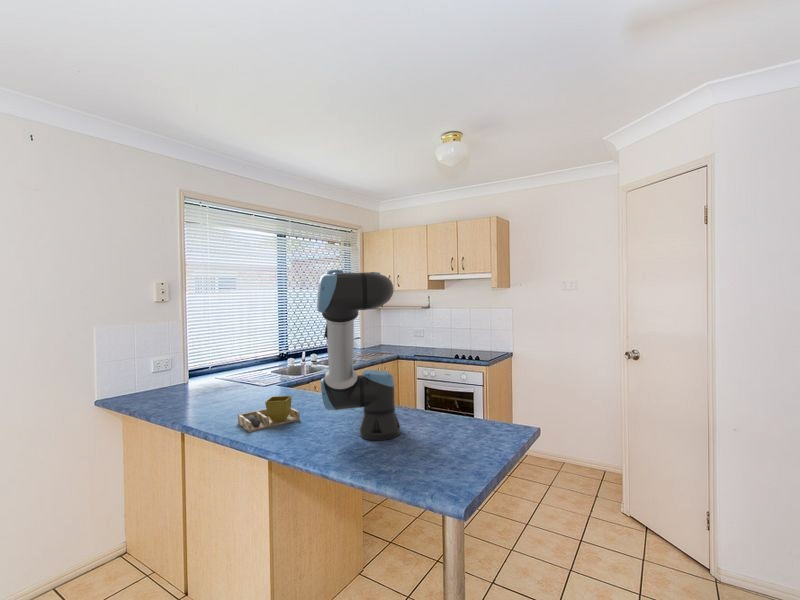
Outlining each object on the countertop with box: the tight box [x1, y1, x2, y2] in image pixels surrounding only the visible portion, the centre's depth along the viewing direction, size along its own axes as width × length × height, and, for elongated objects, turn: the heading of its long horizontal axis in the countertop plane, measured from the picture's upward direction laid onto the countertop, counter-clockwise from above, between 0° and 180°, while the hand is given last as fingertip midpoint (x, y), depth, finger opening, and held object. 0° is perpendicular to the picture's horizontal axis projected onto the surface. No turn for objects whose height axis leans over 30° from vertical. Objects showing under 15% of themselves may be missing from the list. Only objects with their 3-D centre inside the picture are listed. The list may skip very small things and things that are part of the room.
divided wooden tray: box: [237, 407, 301, 433], centre depth 168 cm, size 15×21×4 cm
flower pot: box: [264, 395, 293, 421], centre depth 168 cm, size 9×9×9 cm
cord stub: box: [247, 415, 260, 426], centre depth 163 cm, size 11×3×3 cm, turn 38°
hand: (338, 354), depth 172 cm, fingers open, 13 cm apart
